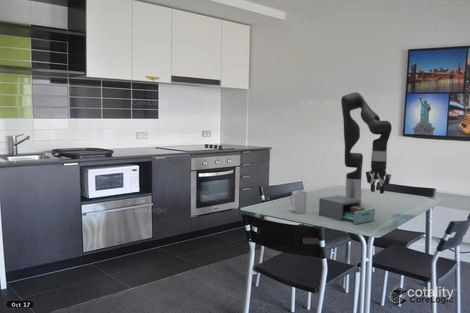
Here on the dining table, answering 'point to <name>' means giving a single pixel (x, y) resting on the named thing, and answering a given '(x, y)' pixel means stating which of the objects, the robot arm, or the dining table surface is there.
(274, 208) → the dining table surface
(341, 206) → the grey drawer box
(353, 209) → the walnut block
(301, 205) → the mug
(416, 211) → the dining table surface
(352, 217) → the teal drawer
